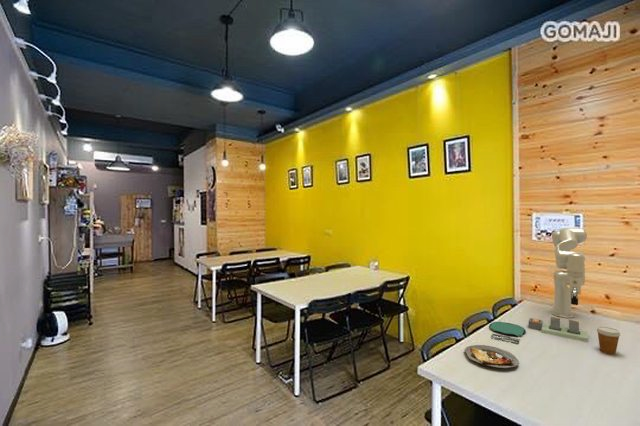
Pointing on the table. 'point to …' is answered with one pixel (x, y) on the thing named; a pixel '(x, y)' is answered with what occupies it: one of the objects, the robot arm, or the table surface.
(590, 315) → the table surface
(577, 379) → the table surface
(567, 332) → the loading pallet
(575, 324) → the knobbed taupe block
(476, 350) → the food plate
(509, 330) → the green-topped navy dish
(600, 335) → the disposable coffee cup
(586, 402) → the table surface
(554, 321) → the seated billet
